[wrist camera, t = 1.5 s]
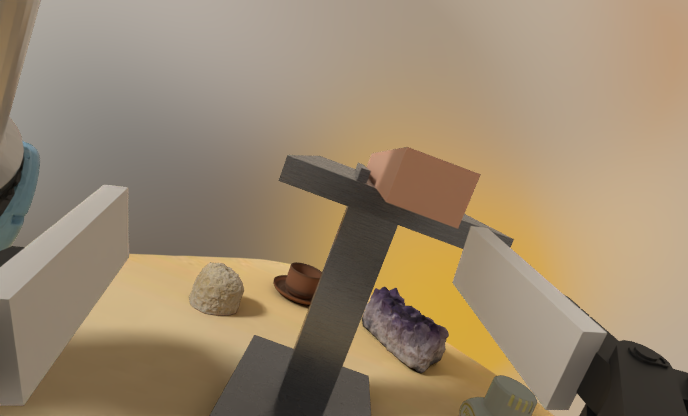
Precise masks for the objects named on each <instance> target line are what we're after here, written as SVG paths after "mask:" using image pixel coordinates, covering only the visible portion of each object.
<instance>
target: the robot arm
mask: <svg viewBox="0 0 688 416" xmlns="http://www.w3.org/2000/svg"><path fill="white" fill-rule="evenodd" d="M40 1H41V0H0V405H12V406H24V404H25V403H26V402H27V400H28V399H29V397H30V396H31V395H32V393H33V392H34V390H35V389H36V387H37V386H38V385H39V383H40V382H41V380H42V379H43V378H44V376H45V375H46V373H47V372H48V371H49V369H50V368H51V366H52V365H53V363H54V362H55V361H56V359H57V358H58V356H59V355H60V354H61V352H62V351H63V349H64V348H65V347H66V345H67V344H68V342H69V341H70V340H71V338H72V337H73V335H74V334H75V332H76V331H77V330H78V328H79V327H80V325H81V324H82V323H83V321H84V320H85V318H86V317H87V316H88V314H89V313H90V311H91V310H92V308H93V307H94V306H95V304H96V303H97V301H98V300H99V299H100V297H101V296H102V294H103V293H104V292H105V290H106V289H107V287H108V286H109V285H110V283H111V282H112V280H113V279H114V277H115V276H116V275H117V273H118V272H119V270H120V269H121V268H122V266H123V265H124V263H125V262H126V261H127V259H128V258H129V221H128V220H129V219H128V218H129V217H128V215H129V214H128V187H119V186H111V185H103V186H102V187H100V188H99V189H98V190H97V191H95V192H94V193H93V194H92V195H90V196H89V197H88V198H87V199H86V200H84V201H83V202H82V203H80V204H79V205H78V206H77V207H75V208H74V209H73V210H72V211H70V212H69V213H68V214H67V215H65V216H64V217H63V218H62V219H60V220H59V221H58V222H56V223H55V224H54V225H53V226H51V227H50V228H49V229H48V230H46V232H44V233H43V234H41V235H40V236H39V237H38V238H36V239H35V240H34V241H33V242H31V243H30V244H29V245H28V246H26V247H15V246H11V245H12V244H13V242H14V241H15V239H16V237H17V235H18V233H19V232H20V230H21V228H22V225H23V221H24V216H25V215H26V214H27V212H28V210H29V208H30V206H31V203H32V199H33V196H34V192H35V189H36V185H37V181H38V175H39V167H40V157H39V153H38V151H37V149H36V148H35V147H33V146H32V145H31V144H29V143H26V142H24V141H23V140H22V136H21V134H20V132H19V130H18V128H17V126H16V125H15V123H14V122H13V121H12V119H11V118H10V117H9V115H10V111H11V107H12V103H13V100H14V97H15V93H16V89H17V86H18V82H19V78H20V75H21V71H22V67H23V63H24V60H25V56H26V53H27V49H28V45H29V42H30V38H31V34H32V30H33V27H34V23H35V20H36V16H37V12H38V9H39V5H40ZM10 246H11V247H10ZM453 284H454V285H455V287H456V288H457V290H458V291H459V292H460V294H461V295H462V296H463V298H464V299H465V300H466V302H467V303H468V305H469V306H470V307H471V309H472V310H473V311H474V313H475V314H476V315H477V317H478V318H479V320H480V321H481V322H482V323H483V325H484V326H485V328H486V329H487V331H488V332H489V333H490V334H491V336H492V337H493V339H494V340H495V341H496V343H497V344H498V345H499V347H500V348H501V350H502V351H503V352H504V354H505V355H506V356H507V358H508V359H509V361H510V362H511V363H512V365H513V366H514V367H515V369H516V370H517V371H518V373H519V374H520V376H521V377H522V378H523V380H524V381H525V382H526V384H527V385H528V387H529V388H530V389H531V390H532V392H533V393H534V395H535V396H536V397H537V399H538V400H539V402H540V403H541V404H542V406H543V407H544V408H545V410H569V408H570V406H571V404H572V402H573V400H574V398H575V396H576V394H578V395H579V396H580V397H581V398H582V400H583V401H584V402H585V403H586V404H585V407H584V408H583V410H582V412H581V414H580V416H688V373H686V372H683V371H679V370H675V369H673V368H672V367H671V365H670V363H669V362H668V361H667V360H666V359H664V358H663V357H662V356H661V355H659V354H658V353H656V352H655V351H653V350H651V349H649V348H647V347H645V346H643V345H641V344H638V343H635V342H632V341H625V340H623V341H618V340H617V339H616V338H615V337H614V336H612V335H611V334H610V333H609V332H608V331H607V330H605V329H604V328H603V327H602V326H601V325H600V324H599V323H597V322H596V321H595V320H594V319H593V318H592V317H589V315H588V314H587V313H586V312H585V311H584V310H582V309H580V307H579V306H578V305H577V304H576V303H574V302H573V301H572V300H571V299H570V298H569V297H567V296H565V295H564V294H562V293H561V292H560V291H559V290H558V289H556V288H555V287H554V286H553V285H552V284H551V283H550V282H548V281H547V280H546V279H545V278H544V277H543V276H542V275H541V274H539V273H538V272H537V271H536V270H535V269H534V268H532V267H531V266H530V265H529V264H528V263H527V262H526V261H525V260H523V259H522V258H521V257H520V256H519V255H518V254H517V253H515V252H514V251H513V250H512V249H510V247H509V246H507V245H506V244H505V243H504V242H503V241H502V240H501V239H499V238H498V237H497V236H496V235H495V234H494V233H493V232H491V231H490V230H489V229H488V228H484V227H475V226H471V227H470V230H469V233H468V236H467V239H466V242H465V246H464V249H463V252H462V255H461V258H460V261H459V264H458V267H457V271H456V274H455V277H454V280H453Z"/></svg>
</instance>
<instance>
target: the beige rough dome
mask: <svg viewBox="0 0 688 416" xmlns="http://www.w3.org/2000/svg"><path fill="white" fill-rule="evenodd" d="M243 293H244V287H243V283H242V281H241V279H240V277H239V275H238V274H237V273H235V272H234V271H233V270H232V269H231V268H230V267H227V266H226V265H225V264H222V263H211V262H210V263H209V264H208V265H206V266H205V267H204V268H203V269H202V271H201V272H200V274H199V275H198V276H197V279H196V281H195V283H194V285H193V289H192V292H191V294H190V296H189V300H190V301H189V302H190V304H191V305H192V306H193V307H194V308H195V309H197V310H199V311H201V312H203V313H207V314H212V315H231V314H235V312H236V311H237V309H238V308H239V303H240V300H241V298H242V295H243Z"/></svg>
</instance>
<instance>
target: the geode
mask: <svg viewBox="0 0 688 416" xmlns="http://www.w3.org/2000/svg"><path fill="white" fill-rule="evenodd" d="M362 322H363V326H364V327H365V328H367V329H368V330H369V331H370V332H371V333H372V334H373V335H374V336H375V337H376V338H377V339H378V340H379V341H380V342H381V343H382V344H383V345H384V346H386V347H387V350H388V351H389V352H392V353H393V354H394V356H396V357H397V358H398V359H399V360H401V361H402V362H403V363H405V364H406V365H407V366H409V367H410V368H414V369H415V370H416V371H417V372H419V373H423V372H424V371H425V370H426V369H428V367H429V366H430V365H431V364H434V363H437V362H438V361H440V360H441V358H442V355H443V353H444V352H445V342H446V338H447V337H448V336H449V334H448V331H447V330H446V328H444V327H442V326H440V325H437V324H435V323H434V321H433V320H432V319H430V318H428V317H425V316H424V315H421V313H420V311H418V310H416V309H415V308H413V307H412V306H405V303H404V299H403V298H402V297H401V296H400V295H399V293H398V290H397V288H394V289H392V290H390V291H389V290H388V289H387V288H386V287H383V288H381V289H380V290H378V289H377V288H376V289H375V290H374V293H373V295H372V296H371V300H370V302H369V303H368V304H367V305H366V307H365V311H364V314H363V317H362Z"/></svg>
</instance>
